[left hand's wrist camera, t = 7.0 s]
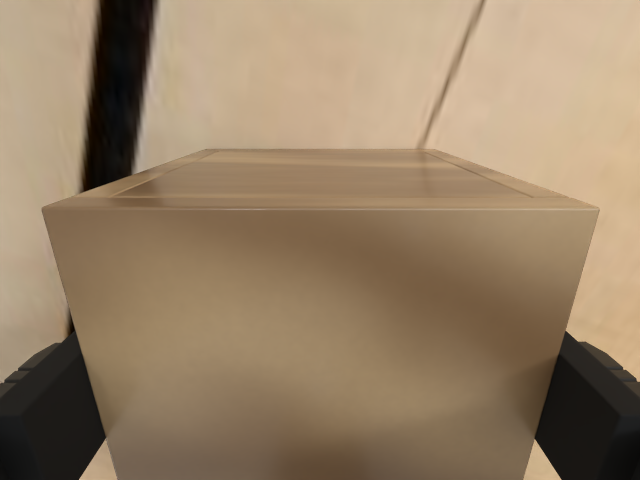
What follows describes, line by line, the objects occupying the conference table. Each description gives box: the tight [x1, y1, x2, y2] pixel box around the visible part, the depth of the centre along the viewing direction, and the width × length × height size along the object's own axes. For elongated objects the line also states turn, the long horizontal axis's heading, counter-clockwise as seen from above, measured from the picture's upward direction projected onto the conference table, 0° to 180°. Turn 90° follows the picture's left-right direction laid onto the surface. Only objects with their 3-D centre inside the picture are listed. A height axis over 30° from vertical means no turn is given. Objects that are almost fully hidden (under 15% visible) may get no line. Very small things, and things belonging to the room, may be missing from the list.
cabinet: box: [42, 149, 600, 480], centre depth 15 cm, size 16×11×11 cm
